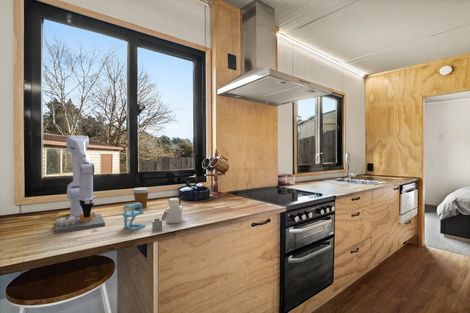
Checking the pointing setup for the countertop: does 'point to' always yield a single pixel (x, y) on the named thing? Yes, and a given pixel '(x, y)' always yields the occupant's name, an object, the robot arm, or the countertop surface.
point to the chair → (133, 215)
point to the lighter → (158, 222)
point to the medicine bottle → (174, 211)
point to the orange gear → (86, 217)
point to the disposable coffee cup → (141, 196)
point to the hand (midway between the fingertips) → (86, 215)
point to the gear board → (78, 223)
